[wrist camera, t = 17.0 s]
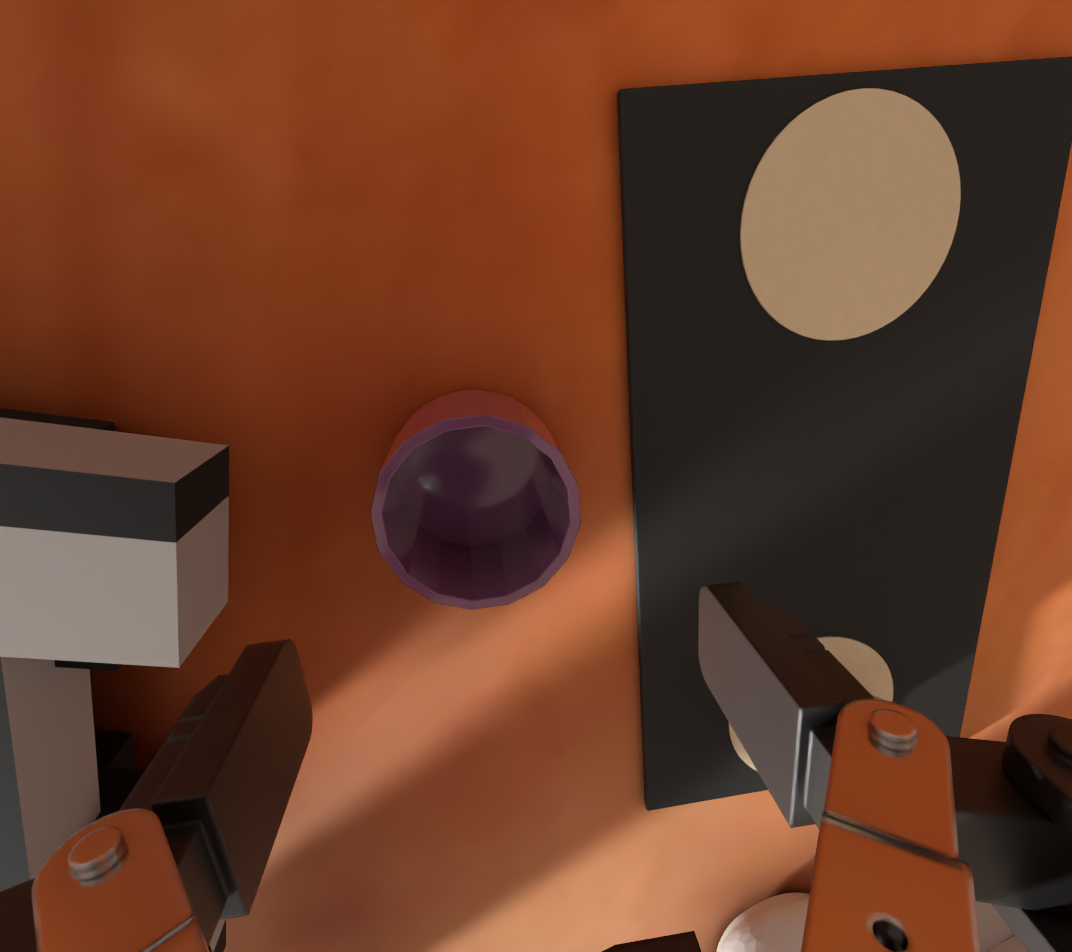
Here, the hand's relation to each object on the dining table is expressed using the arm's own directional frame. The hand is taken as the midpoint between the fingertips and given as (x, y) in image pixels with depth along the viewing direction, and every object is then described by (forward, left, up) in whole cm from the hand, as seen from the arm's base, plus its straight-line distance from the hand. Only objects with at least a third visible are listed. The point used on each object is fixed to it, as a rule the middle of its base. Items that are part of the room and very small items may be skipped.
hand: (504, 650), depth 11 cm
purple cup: (0, 0, -11) cm, 11 cm away
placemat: (+14, -3, -11) cm, 18 cm away
